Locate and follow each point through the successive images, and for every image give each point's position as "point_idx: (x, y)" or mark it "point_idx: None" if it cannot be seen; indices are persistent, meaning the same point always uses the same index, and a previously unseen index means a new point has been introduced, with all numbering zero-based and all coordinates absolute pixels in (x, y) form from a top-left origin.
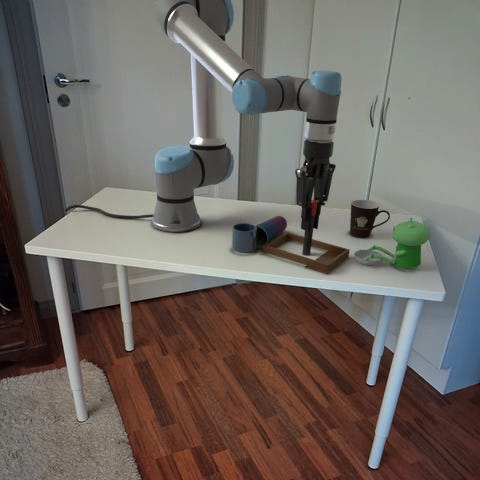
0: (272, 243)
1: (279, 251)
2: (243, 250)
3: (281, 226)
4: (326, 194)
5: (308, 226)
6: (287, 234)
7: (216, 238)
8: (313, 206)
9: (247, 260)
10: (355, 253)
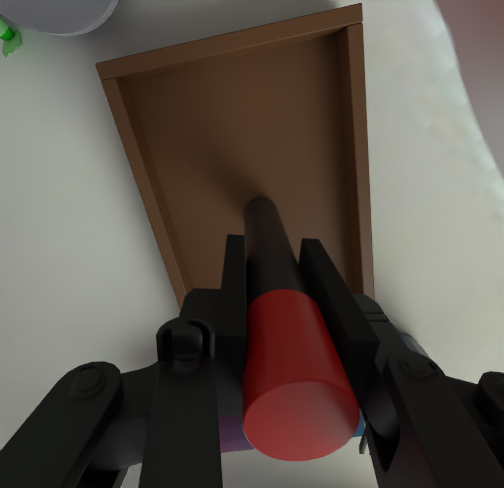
0: None
1: (371, 270)
2: (425, 352)
3: None
4: (60, 458)
5: (326, 252)
6: None
7: (365, 448)
8: (326, 352)
9: (441, 308)
10: (76, 34)
